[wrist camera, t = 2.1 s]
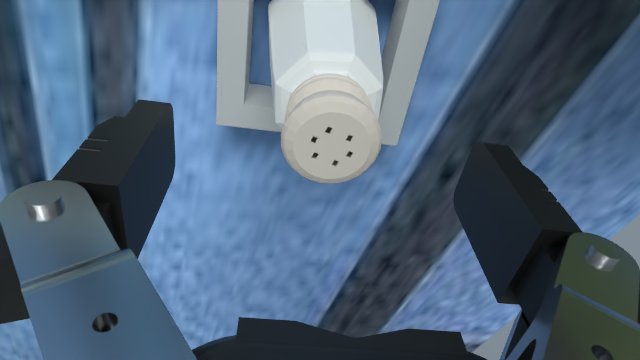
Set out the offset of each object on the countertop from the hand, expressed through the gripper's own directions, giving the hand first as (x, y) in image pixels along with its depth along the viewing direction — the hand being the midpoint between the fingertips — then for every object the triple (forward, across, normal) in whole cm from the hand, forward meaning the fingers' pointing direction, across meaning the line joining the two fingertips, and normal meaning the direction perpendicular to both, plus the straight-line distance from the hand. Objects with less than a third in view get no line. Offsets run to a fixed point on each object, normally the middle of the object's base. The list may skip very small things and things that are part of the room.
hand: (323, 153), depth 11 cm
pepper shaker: (+11, 0, 0) cm, 11 cm away
